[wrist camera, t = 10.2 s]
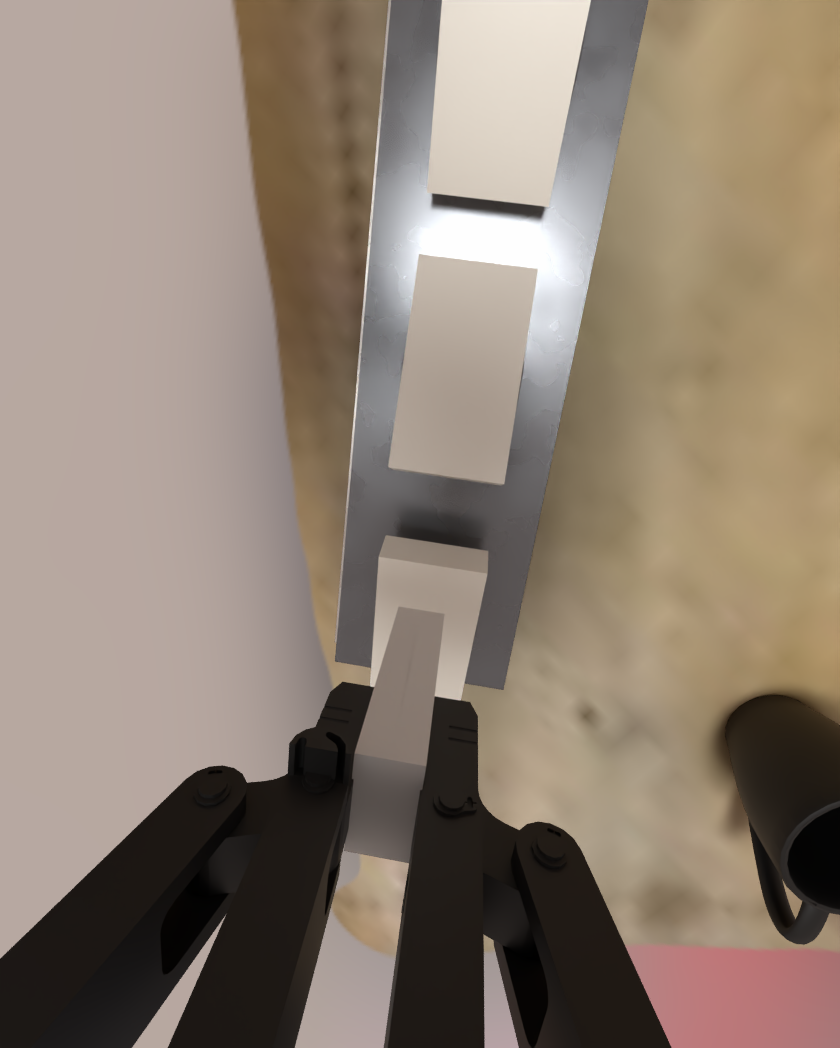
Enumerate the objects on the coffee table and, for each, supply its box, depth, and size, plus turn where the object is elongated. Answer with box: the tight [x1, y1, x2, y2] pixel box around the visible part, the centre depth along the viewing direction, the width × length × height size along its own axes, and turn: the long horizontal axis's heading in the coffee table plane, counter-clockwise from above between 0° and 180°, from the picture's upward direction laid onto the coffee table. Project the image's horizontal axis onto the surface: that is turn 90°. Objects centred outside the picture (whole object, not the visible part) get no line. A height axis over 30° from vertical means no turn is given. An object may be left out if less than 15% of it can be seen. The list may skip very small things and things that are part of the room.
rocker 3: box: [370, 535, 488, 701], centre depth 28 cm, size 9×5×3 cm, turn 173°
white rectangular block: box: [388, 254, 538, 485], centre depth 24 cm, size 9×5×3 cm, turn 172°
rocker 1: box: [427, 0, 591, 207], centre depth 20 cm, size 9×5×3 cm, turn 173°
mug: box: [725, 695, 840, 945], centre depth 32 cm, size 8×12×10 cm
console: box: [335, 0, 648, 690], centre depth 28 cm, size 34×10×5 cm, turn 173°
